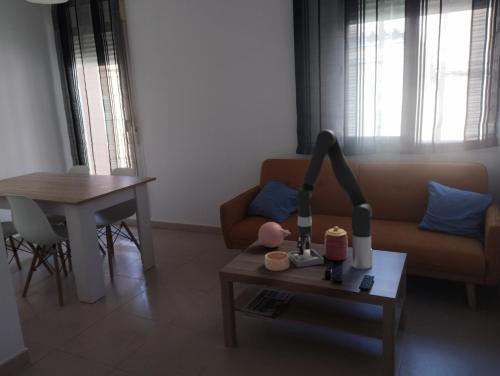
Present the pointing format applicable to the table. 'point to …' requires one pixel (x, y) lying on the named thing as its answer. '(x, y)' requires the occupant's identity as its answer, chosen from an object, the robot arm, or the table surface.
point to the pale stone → (306, 255)
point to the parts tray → (301, 263)
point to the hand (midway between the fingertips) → (304, 252)
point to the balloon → (272, 234)
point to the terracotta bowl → (277, 261)
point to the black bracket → (327, 274)
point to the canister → (336, 244)
